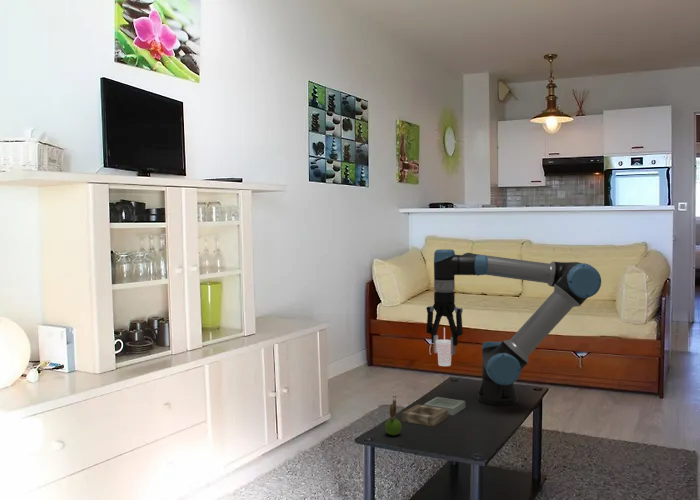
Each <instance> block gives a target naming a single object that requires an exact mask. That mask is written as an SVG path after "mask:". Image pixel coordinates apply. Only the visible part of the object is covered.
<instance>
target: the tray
mask: <svg viewBox="0 0 700 500" xmlns="http://www.w3.org/2000/svg"><path fill="white" fill-rule="evenodd" d="M423 405H424V406H430V407H437V408H443V409H448V416H455V415H456V414H458V413H459V412H462V410H464V409H465V408H466V400H461V399H453V398H449V397H448V398H447V397H440V396H436V397H434V398H433V399H431V400H429V401H426V402H425V403H424V404H423Z"/></svg>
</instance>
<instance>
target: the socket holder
mask: <svg viewBox="0 0 700 500" xmlns="http://www.w3.org/2000/svg"><path fill="white" fill-rule="evenodd" d="M448 418H449V415H448V409H443V408H437V407H430V406H424V404H415V405H413V406H412V407H410V408H408V409H407V410H405V411H403V412H402V413H401V421H402V422H405V423H412V424H416V425H423V426H427V427H436V426H437V425H439V424H440V423H442V422H444V420H446V419H448Z"/></svg>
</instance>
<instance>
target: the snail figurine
mask: <svg viewBox="0 0 700 500" xmlns="http://www.w3.org/2000/svg"><path fill="white" fill-rule="evenodd" d="M392 398H393V400H392V403H391V404H390V407H389V416H390V418H388V419H387V420H386V422H385V424H384V430H385V432H386V434H388V435H389V436H397V435H399V434H400V433H401V431H402V423H401V421H400V420H399V419H398V418H396V416H397V395H392Z"/></svg>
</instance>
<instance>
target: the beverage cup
mask: <svg viewBox="0 0 700 500" xmlns="http://www.w3.org/2000/svg"><path fill="white" fill-rule="evenodd" d="M436 343H437V351H438V352H437V363H438V366H439V367H451V365H452V355H451V339H446V328H445V327H443V339H438V340H436Z"/></svg>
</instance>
